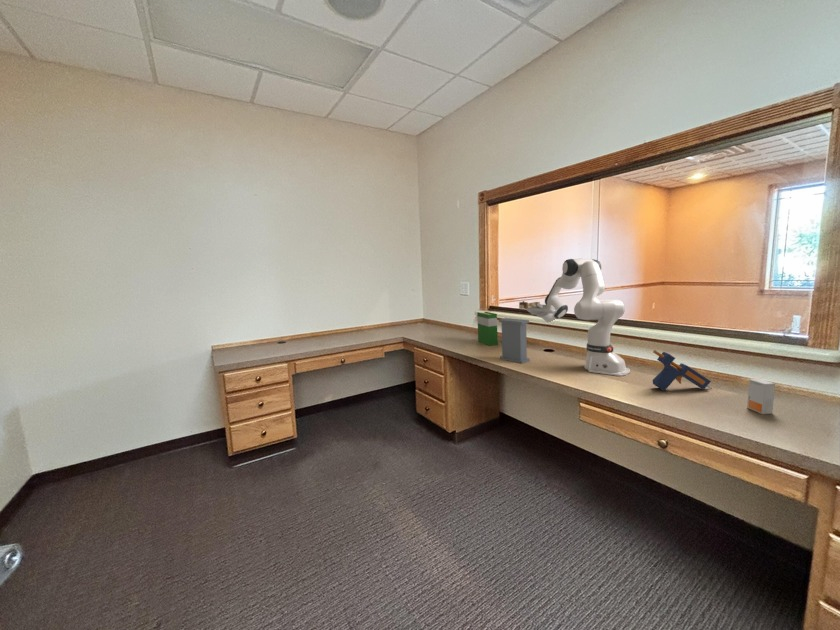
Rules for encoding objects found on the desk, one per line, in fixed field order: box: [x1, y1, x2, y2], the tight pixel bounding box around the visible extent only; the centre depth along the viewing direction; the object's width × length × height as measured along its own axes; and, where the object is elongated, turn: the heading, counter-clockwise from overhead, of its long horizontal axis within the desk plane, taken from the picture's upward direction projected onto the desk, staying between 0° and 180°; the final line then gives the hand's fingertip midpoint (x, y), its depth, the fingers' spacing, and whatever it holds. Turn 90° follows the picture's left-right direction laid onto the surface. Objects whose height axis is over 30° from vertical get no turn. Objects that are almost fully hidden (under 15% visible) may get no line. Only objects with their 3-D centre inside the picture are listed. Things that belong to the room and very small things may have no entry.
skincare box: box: [746, 377, 776, 415], centre depth 131 cm, size 6×4×12 cm
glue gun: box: [652, 349, 712, 392], centre depth 157 cm, size 6×31×15 cm
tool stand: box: [498, 317, 531, 364], centre depth 219 cm, size 17×8×26 cm, turn 39°
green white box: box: [476, 311, 499, 347], centre depth 269 cm, size 18×7×24 cm, turn 18°
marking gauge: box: [518, 300, 541, 310], centre depth 227 cm, size 20×5×5 cm, turn 129°
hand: (534, 303), depth 230 cm, fingers closed on marking gauge, 2 cm apart
